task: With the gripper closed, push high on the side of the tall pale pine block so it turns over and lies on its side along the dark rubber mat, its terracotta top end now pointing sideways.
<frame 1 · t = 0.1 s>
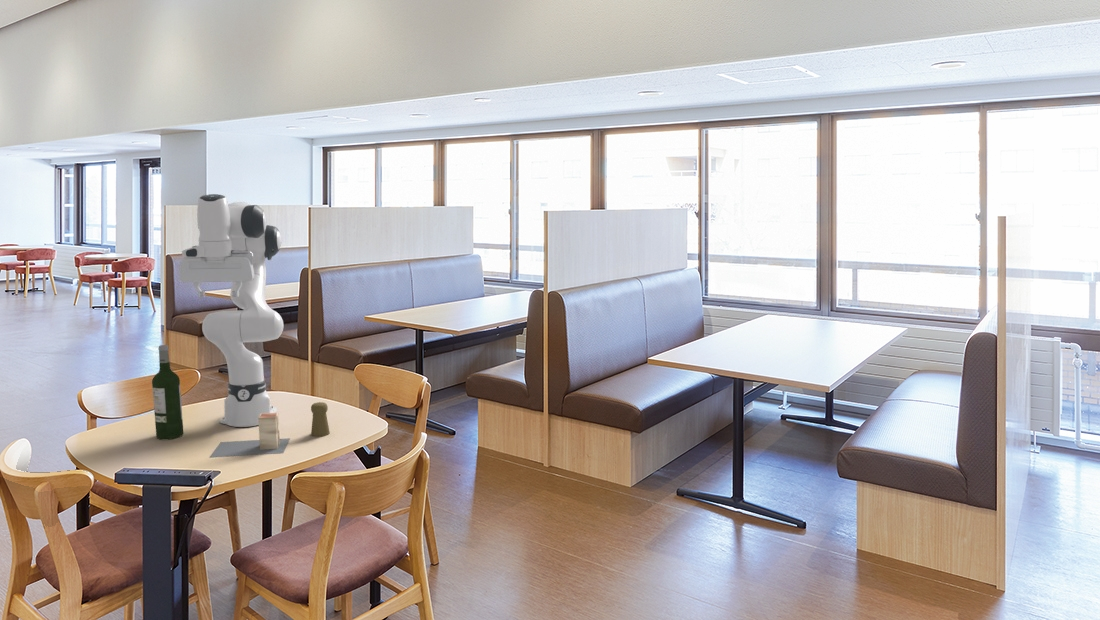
hand: (218, 296, 220), 48 cm above the table, tool pointing down, fingers open, 8 cm apart
cork: (320, 436, 242), on the table
pine block: (270, 446, 230), point 1 cm above the table, touching rubber mat
wine bottle: (170, 436, 241), on the table
rubber mat: (251, 449, 229), on the table
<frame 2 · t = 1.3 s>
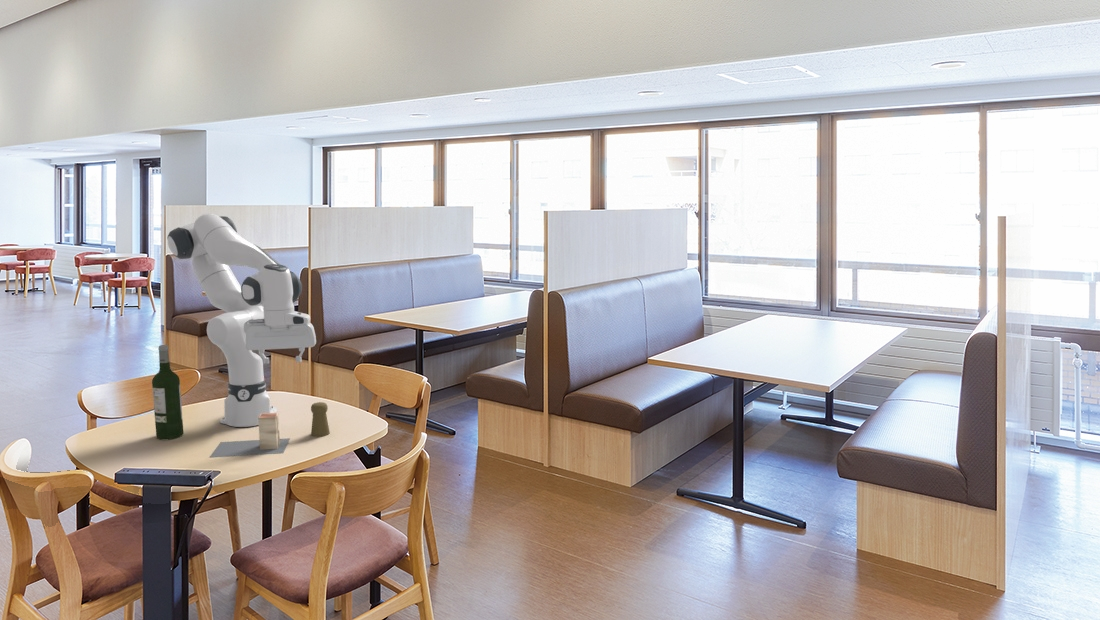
hand: (282, 362, 226), 27 cm above the table, tool pointing down, fingers open, 8 cm apart
nothing on the table moved.
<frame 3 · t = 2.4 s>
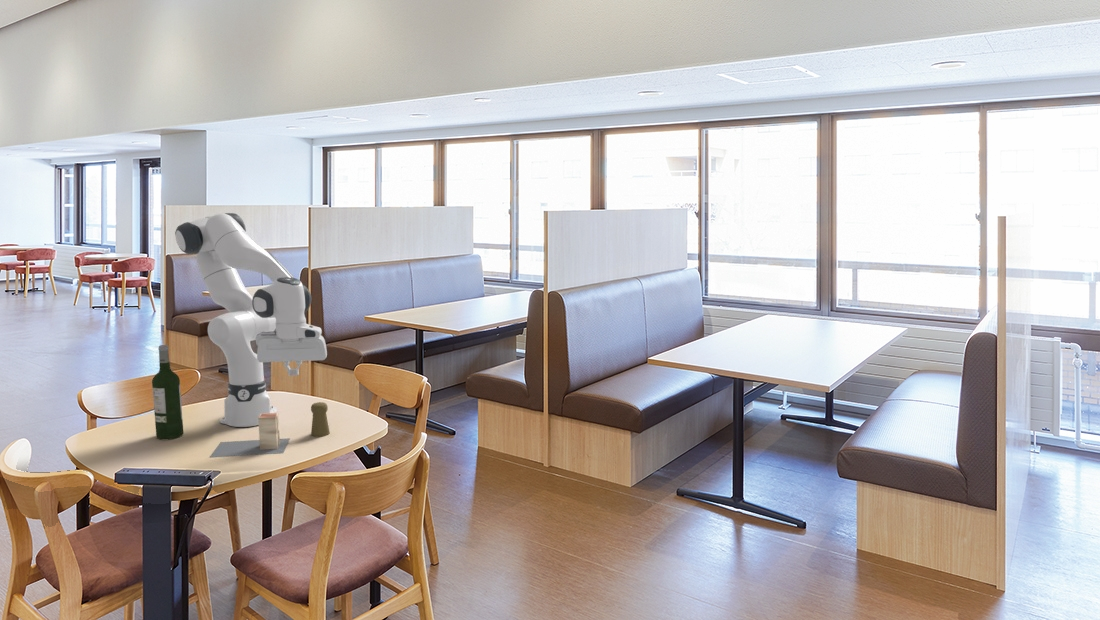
hand: (293, 375, 228), 23 cm above the table, tool pointing down, fingers closed
nothing on the table moved.
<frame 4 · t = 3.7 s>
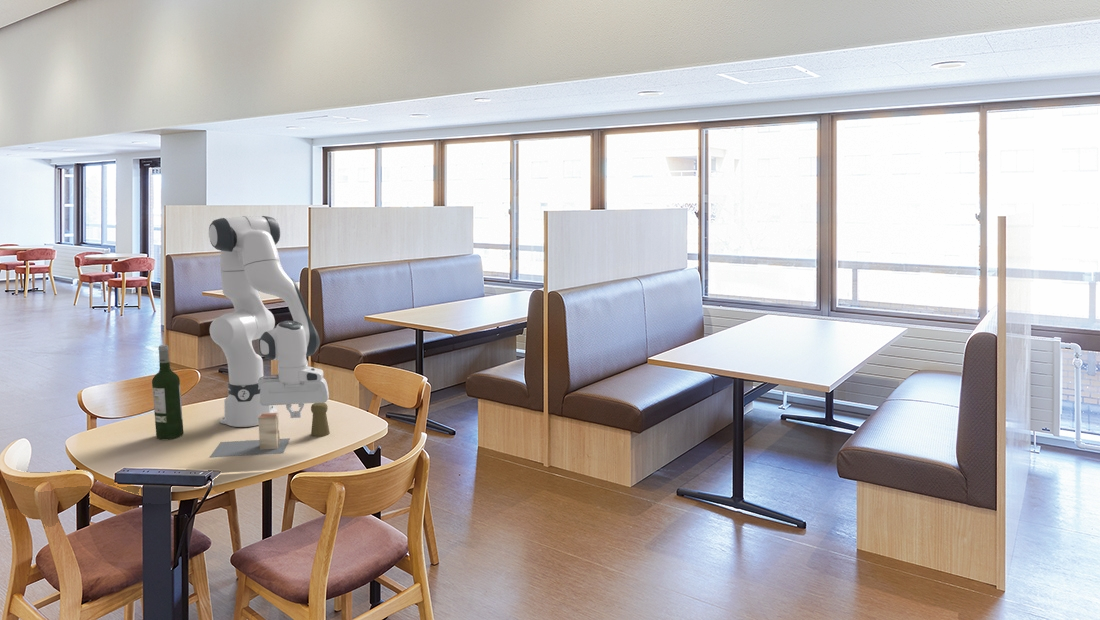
hand: (295, 417, 230), 10 cm above the table, tool pointing down, fingers closed
nothing on the table moved.
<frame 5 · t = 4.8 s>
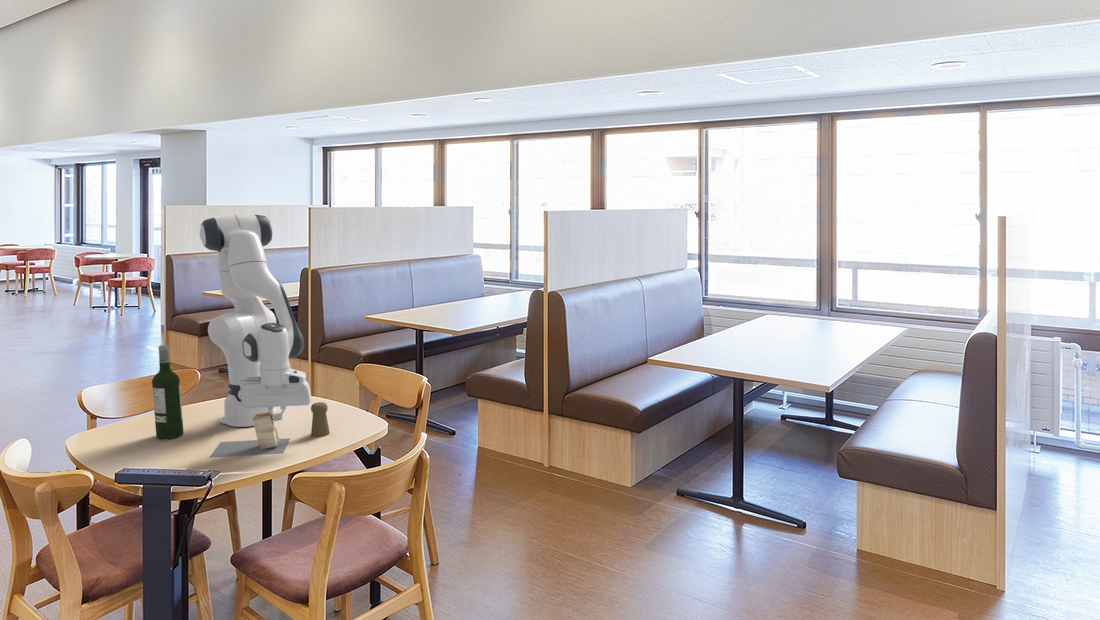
hand: (277, 419, 229), 9 cm above the table, tool pointing down, fingers closed
pine block: (269, 445, 230), point 1 cm above the table, tilted 10°, touching gripper, rubber mat
everything else where it was.
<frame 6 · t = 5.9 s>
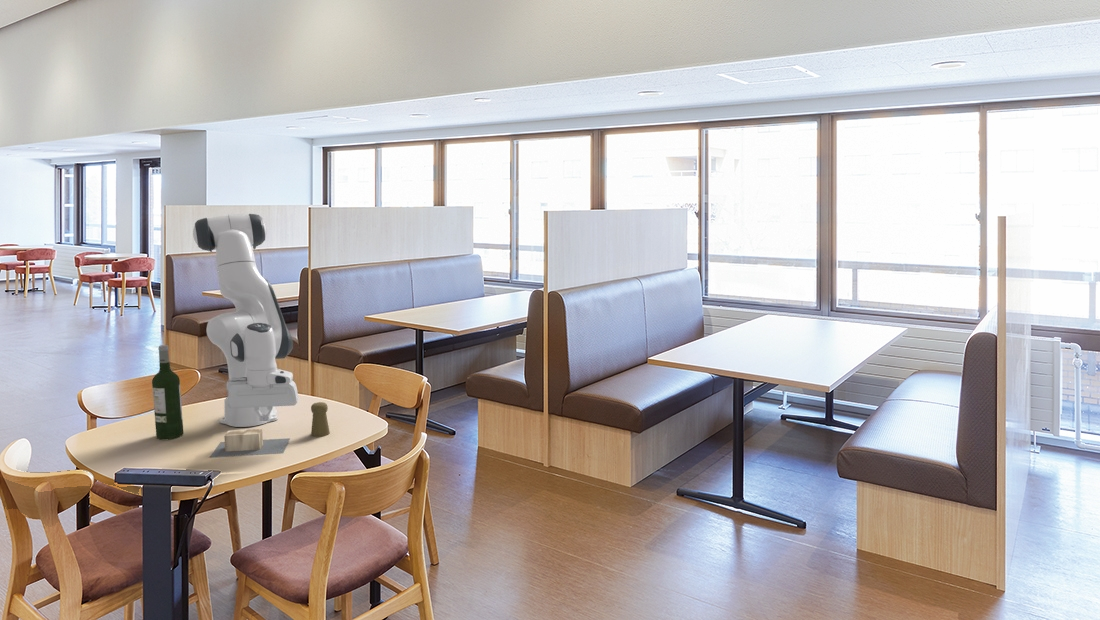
hand: (264, 420, 228), 9 cm above the table, tool pointing down, fingers closed
pine block: (261, 439, 229), point 3 cm above the table, tilted 90°, touching rubber mat
everything else where it was.
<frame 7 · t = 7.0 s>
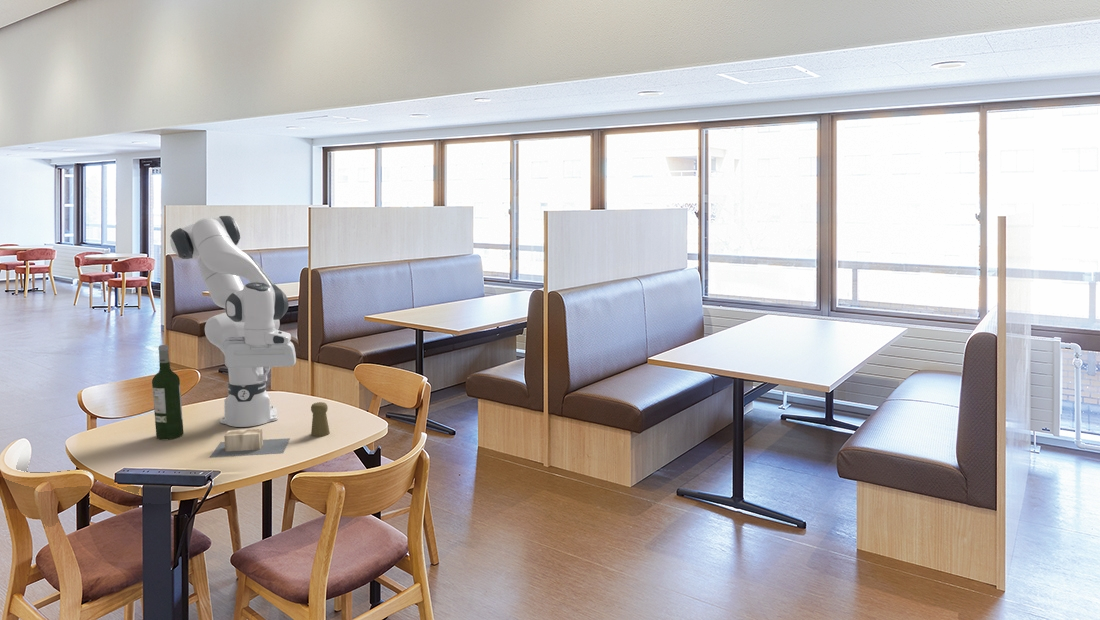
hand: (261, 380, 227), 22 cm above the table, tool pointing down, fingers closed
nothing on the table moved.
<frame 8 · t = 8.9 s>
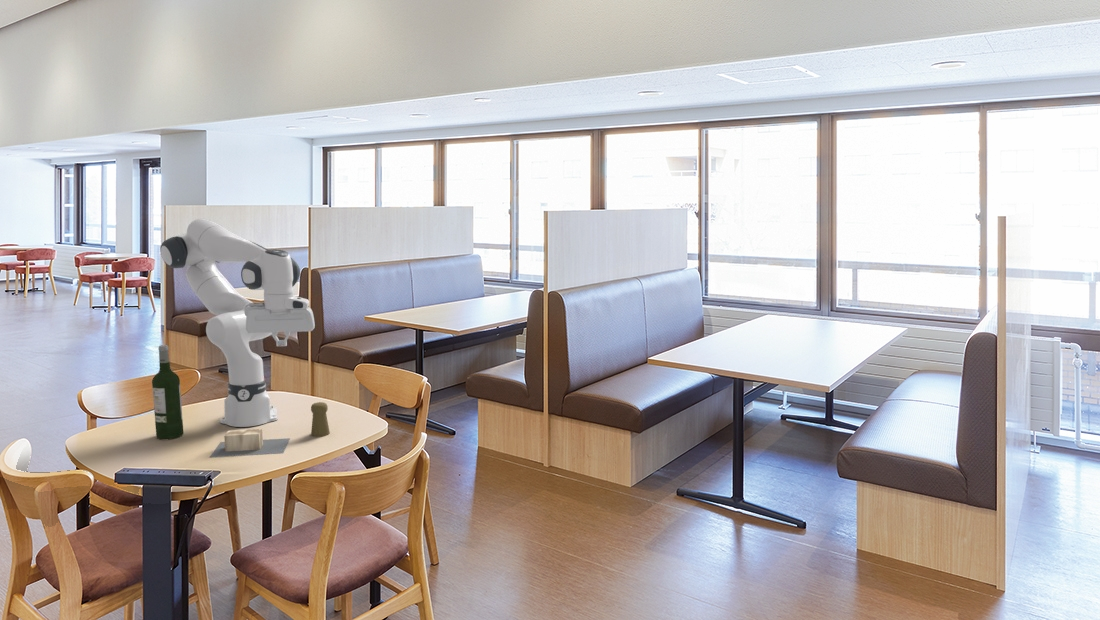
hand: (281, 346, 232), 31 cm above the table, tool pointing down, fingers closed
nothing on the table moved.
at the end: pine block tilted 90°; pine block inside the target area (0.2 cm from its centre), point 3.1 cm above the table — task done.
